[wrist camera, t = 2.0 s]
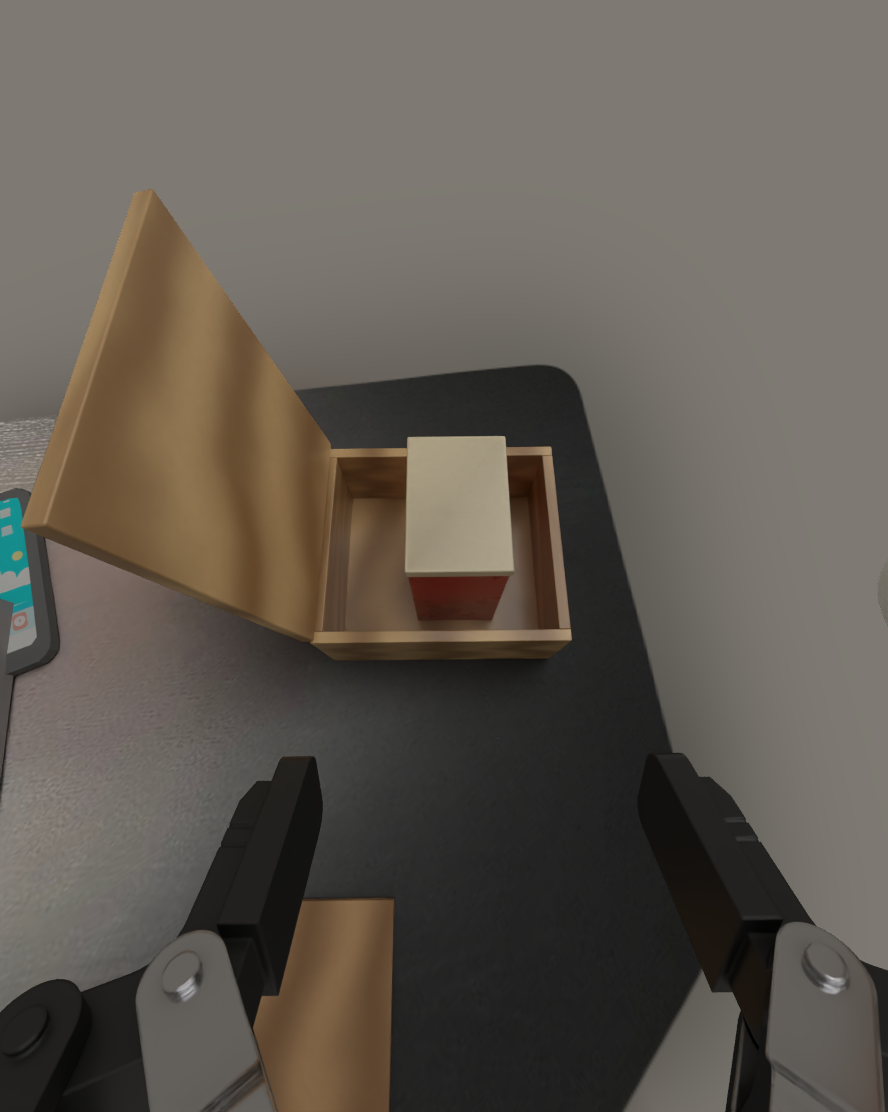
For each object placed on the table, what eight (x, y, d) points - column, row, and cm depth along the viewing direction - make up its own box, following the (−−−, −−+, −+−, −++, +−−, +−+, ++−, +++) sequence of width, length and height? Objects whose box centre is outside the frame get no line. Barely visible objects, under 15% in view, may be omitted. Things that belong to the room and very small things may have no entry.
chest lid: (152, 187, 17) (133, 191, 17) (43, 525, 12) (17, 528, 12) (331, 444, 32) (320, 445, 32) (314, 641, 27) (301, 642, 27)
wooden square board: (394, 897, 29) (393, 899, 28) (388, 1172, 25) (387, 1181, 24) (197, 899, 29) (193, 902, 28) (157, 1175, 25) (151, 1184, 24)
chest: (534, 493, 39) (551, 446, 33) (549, 658, 34) (572, 640, 28) (346, 495, 39) (327, 448, 32) (334, 660, 34) (309, 643, 28)
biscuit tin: (488, 518, 37) (505, 435, 27) (493, 621, 34) (514, 571, 24) (417, 519, 37) (407, 436, 27) (416, 622, 34) (404, 572, 24)
